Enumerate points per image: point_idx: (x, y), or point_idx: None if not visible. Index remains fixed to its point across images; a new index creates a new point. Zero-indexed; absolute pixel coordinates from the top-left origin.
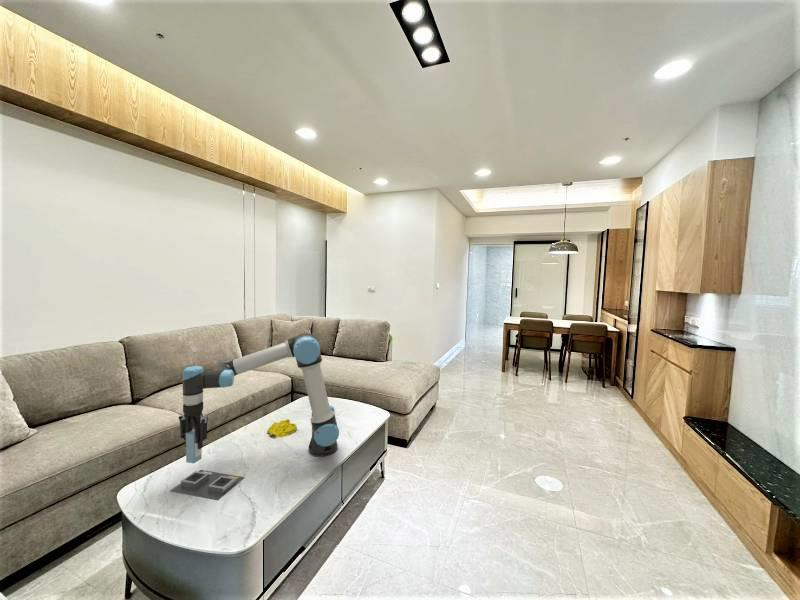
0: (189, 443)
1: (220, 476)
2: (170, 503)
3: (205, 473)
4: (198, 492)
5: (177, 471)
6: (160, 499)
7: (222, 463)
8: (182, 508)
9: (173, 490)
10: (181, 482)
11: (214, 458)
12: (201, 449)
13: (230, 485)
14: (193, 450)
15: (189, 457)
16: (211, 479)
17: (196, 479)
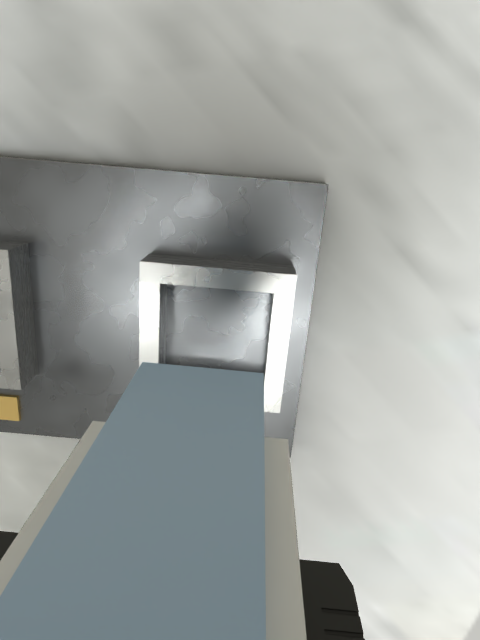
0: (136, 628)
1: (19, 378)
2: (218, 66)
3: None
4: (80, 209)
5: (469, 430)
6: (342, 99)
7: None
8: (69, 26)
9: (301, 196)
10: (286, 270)
11: None
12: None
13: None
14: (74, 481)
15: (201, 405)
16: (116, 367)
17: (229, 351)
